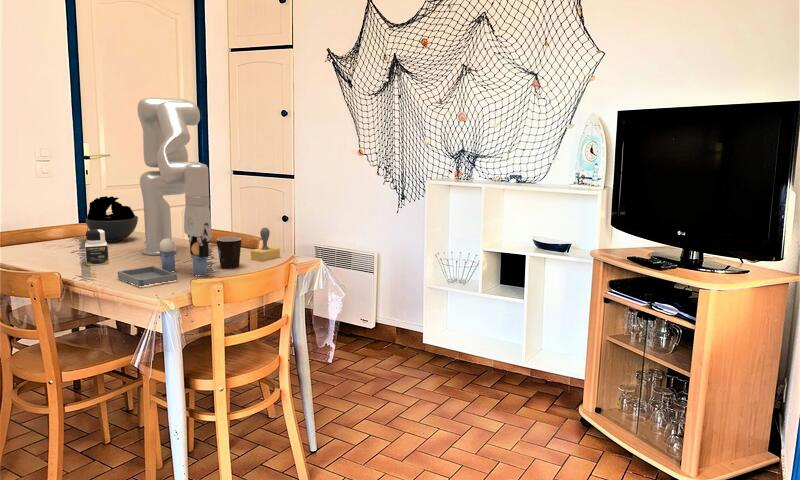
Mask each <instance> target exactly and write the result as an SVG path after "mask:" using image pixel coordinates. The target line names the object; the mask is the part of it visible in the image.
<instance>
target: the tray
mask: <svg viewBox="0 0 800 480" xmlns="http://www.w3.org/2000/svg"><path fill="white" fill-rule="evenodd" d="M118 278H119V279H122V280H124V281H127V282H130V283H133V284H135V285H138V286H144V285H149V284H155V283H162V282H168V281H174V280H177V281H178V274H177V273H175V272H169V271H166V270H163V269H162V268H160V267H157V266H154V265H150V266H144V267H143V266H142V267H139V268H131V269H125V270H118V271H117V279H118ZM119 279H118V280H119ZM122 280H121V281H122ZM124 281H123V282H124Z"/></svg>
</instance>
